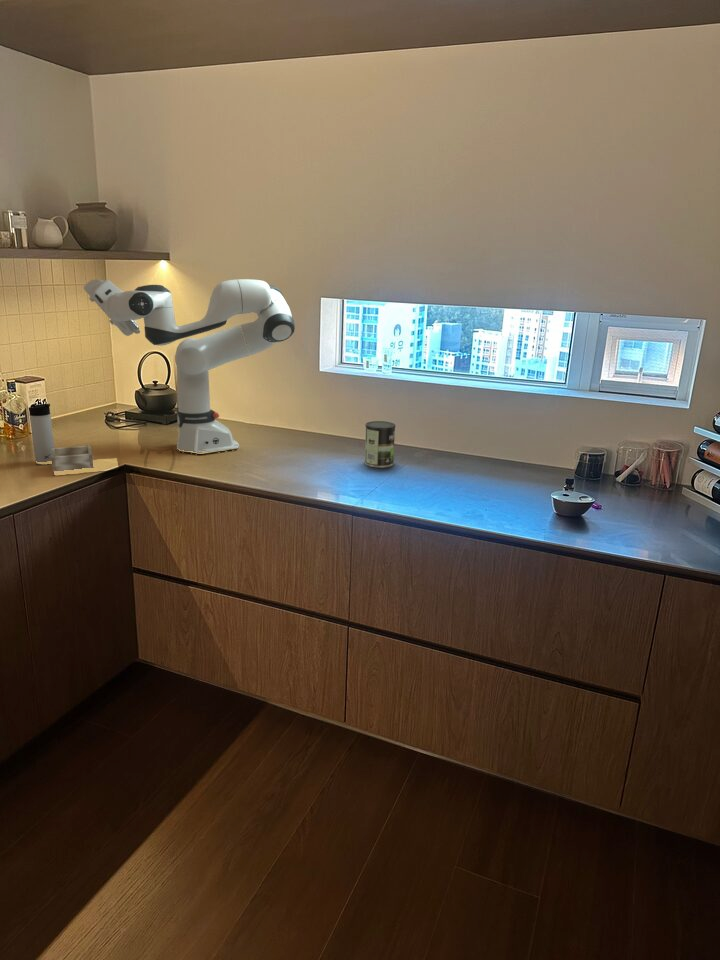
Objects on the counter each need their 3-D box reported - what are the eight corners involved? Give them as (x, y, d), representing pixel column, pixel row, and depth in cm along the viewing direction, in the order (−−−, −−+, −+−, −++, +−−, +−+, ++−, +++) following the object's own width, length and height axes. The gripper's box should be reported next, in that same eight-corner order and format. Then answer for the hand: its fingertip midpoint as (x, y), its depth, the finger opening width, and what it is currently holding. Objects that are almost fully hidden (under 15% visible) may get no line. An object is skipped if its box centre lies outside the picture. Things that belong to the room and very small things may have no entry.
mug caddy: (117, 460, 230) (115, 443, 228) (120, 470, 220) (118, 452, 218) (53, 465, 222) (51, 448, 220) (53, 476, 212) (51, 458, 210)
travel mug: (52, 465, 222) (44, 406, 216) (32, 465, 222) (24, 405, 216) (60, 460, 228) (53, 402, 222) (41, 459, 228) (33, 401, 222)
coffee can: (395, 460, 239) (397, 421, 235) (391, 469, 229) (392, 428, 225) (367, 458, 241) (368, 419, 236) (361, 466, 231) (362, 426, 227)
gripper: (148, 326, 221) (129, 328, 231) (104, 274, 209) (86, 279, 219) (135, 339, 218) (117, 340, 228) (90, 287, 207) (73, 291, 216)
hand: (102, 310), depth 224 cm, fingers open, 8 cm apart
